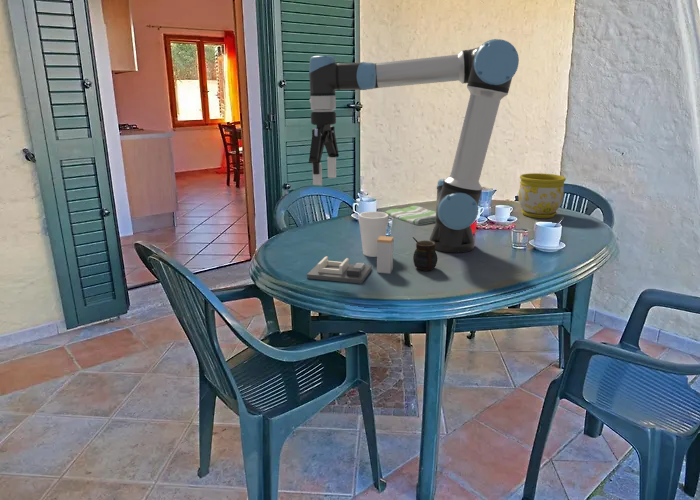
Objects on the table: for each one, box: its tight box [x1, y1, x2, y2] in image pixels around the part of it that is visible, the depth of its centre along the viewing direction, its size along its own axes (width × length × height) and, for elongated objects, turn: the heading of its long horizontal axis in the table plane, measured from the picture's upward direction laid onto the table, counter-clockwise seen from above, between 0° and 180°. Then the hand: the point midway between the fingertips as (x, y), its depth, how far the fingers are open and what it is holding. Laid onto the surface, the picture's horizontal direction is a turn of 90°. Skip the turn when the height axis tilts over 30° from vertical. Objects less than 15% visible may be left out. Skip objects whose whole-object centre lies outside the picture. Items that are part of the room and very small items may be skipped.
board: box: [306, 256, 373, 284], centre depth 147 cm, size 16×12×4 cm
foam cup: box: [358, 211, 389, 258], centre depth 164 cm, size 10×9×13 cm
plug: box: [376, 235, 394, 275], centre depth 149 cm, size 4×4×10 cm
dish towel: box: [384, 205, 436, 226], centre depth 214 cm, size 17×23×4 cm
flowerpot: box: [517, 172, 567, 219], centre depth 215 cm, size 18×18×16 cm
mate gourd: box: [412, 237, 439, 272], centre depth 151 cm, size 7×8×10 cm
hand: (325, 181), depth 160 cm, fingers open, 13 cm apart
